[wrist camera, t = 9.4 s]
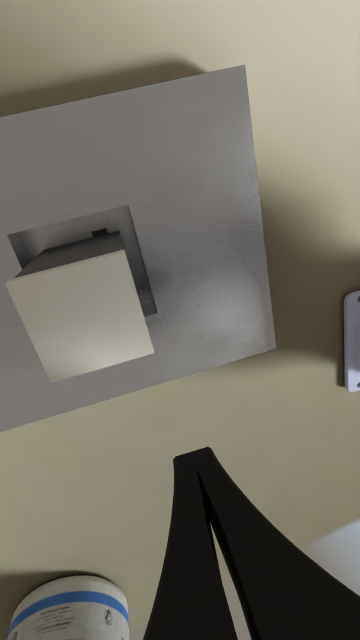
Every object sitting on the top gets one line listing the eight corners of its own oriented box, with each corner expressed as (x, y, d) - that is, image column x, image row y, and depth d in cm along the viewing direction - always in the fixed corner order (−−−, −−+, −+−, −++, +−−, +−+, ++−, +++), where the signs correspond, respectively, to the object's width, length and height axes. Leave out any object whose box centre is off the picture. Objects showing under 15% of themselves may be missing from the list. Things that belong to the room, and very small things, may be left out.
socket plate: (225, 81, 16) (250, 59, 13) (259, 331, 22) (281, 353, 19) (-162, 166, 14) (-228, 161, 12) (-16, 412, 20) (-36, 449, 17)
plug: (120, 229, 17) (124, 251, 11) (140, 300, 19) (154, 352, 13) (41, 249, 17) (4, 283, 11) (70, 320, 18) (51, 383, 13)
